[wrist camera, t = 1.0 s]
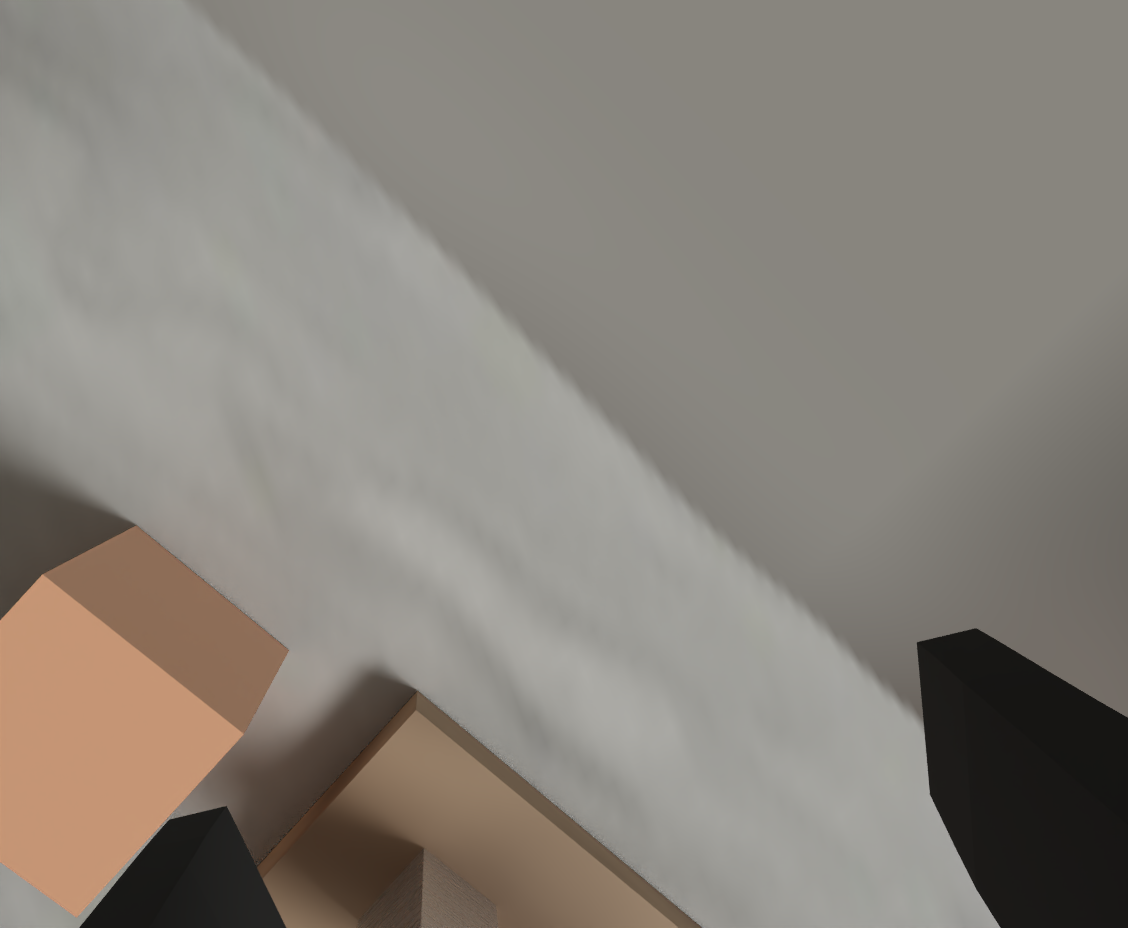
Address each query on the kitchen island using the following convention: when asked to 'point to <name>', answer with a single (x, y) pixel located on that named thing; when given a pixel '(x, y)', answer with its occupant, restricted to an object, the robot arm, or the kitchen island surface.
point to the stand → (451, 839)
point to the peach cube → (116, 708)
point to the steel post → (430, 900)
